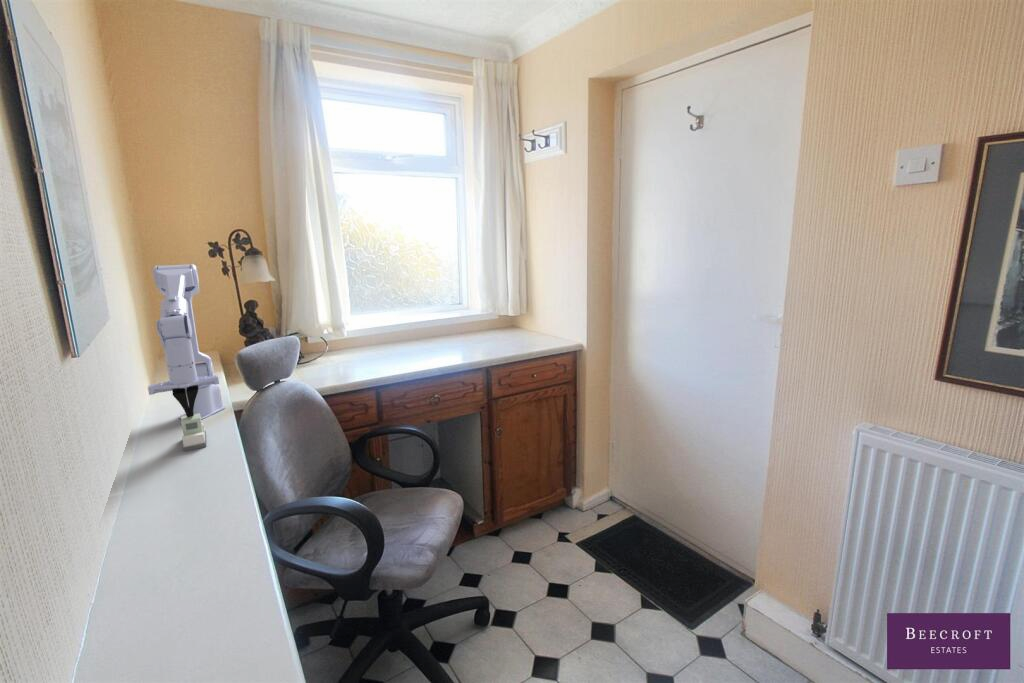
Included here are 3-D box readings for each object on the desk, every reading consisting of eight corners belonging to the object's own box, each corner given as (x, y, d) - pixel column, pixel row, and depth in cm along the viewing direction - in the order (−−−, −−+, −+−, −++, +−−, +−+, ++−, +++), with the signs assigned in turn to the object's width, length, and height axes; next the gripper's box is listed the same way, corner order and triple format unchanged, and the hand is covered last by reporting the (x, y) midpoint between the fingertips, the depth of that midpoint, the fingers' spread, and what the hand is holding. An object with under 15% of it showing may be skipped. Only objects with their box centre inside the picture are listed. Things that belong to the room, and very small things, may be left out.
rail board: (184, 438, 126) (182, 426, 125) (206, 434, 128) (204, 422, 128) (183, 451, 118) (181, 438, 118) (206, 446, 121) (204, 434, 120)
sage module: (185, 436, 124) (181, 416, 122) (203, 432, 126) (199, 413, 125) (184, 442, 120) (180, 421, 119) (203, 438, 122) (200, 418, 121)
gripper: (142, 372, 111) (153, 427, 115) (215, 362, 119) (224, 414, 122) (145, 365, 117) (156, 418, 120) (215, 356, 125) (223, 406, 128)
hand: (190, 415), depth 122 cm, fingers closed
